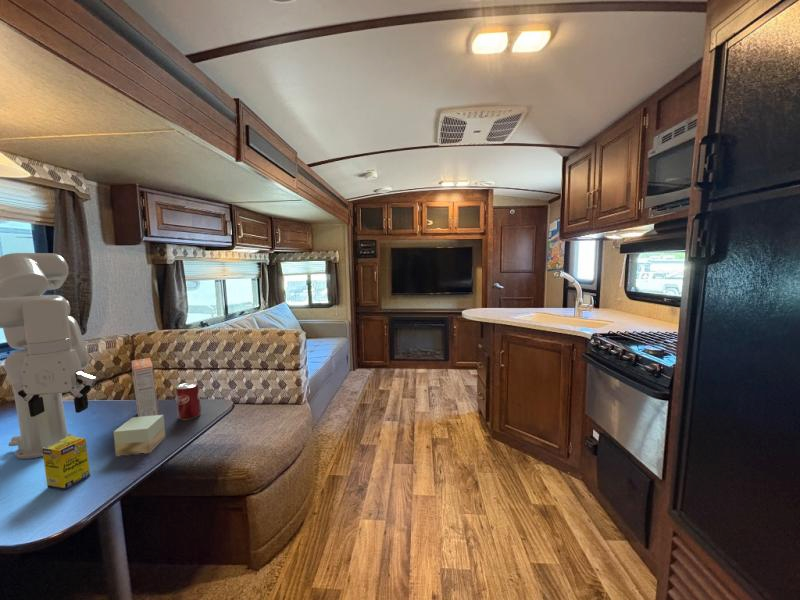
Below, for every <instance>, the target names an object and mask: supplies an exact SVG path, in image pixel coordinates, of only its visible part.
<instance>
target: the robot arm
mask: <svg viewBox="0 0 800 600" xmlns="http://www.w3.org/2000/svg"><path fill="white" fill-rule="evenodd" d="M68 276H69V266H68V263H67V260H65V258H64V257H62V255H61V254H57V253H52V252H51V253H50V252H47V253H46V252H42V253H41V252H12V253H11V252H10V253H7V254H4V255H2V256H0V329H2V330H3V333H4V338H5V340H6V342H7V345H9V347H10V348H12V349H14V350H19V351H16V352H15V351H14V352H13V353H11V354H10V355H8V356H7V357H6V358H5V360H4V368H5V369H4V370H5V372H6V374H7V377H8V380H9V381H10V384H11V387H12V392H13V396H14V402H15V403H14V404H15V409H16V415H17V419H18V420H17V421H18V427H19V434H20V435H16V436H15V435H14V436H12V438H11V439H10V442H9V443H8V444H7V445H8V447H16V446H17V450H15V452H14V453H15V457H16V458H17V459H18V460H19V459H20V460H29V459H35V458H40V457H43V451H42V448H44V447H46V446H49V445H51V444H53V443H56V442H58V441H60V440H63V439H65V438H67V437H69V436H71V437H76V435H74V434H73V433H69V432H68V430H67V428H68V427H67V423H66V414H65V408H64V401H63V393H64V394H65V393H68V392H70V393H72V394H73V395H74V398H73V401H74V402H73V403H74V409H75V413H77V414H78V413H82V412H83V411H85V410H87V409H88V407H89V401H88V400H89V399H88V394H89V393H90V392H91V390H92V389H93V388H95V384H96V382H97V380H98V378H97V377H96V376H93V375H92V374H88V373H84V372H83V370H84V369H86V368H87V367H88V366H89V363H90V359H89V353H88V350H87V349H88V348H87V347H86V344H85V341H84V337H83V334H82V331H81V328H80V326H79V324H78V321H77V320H76V318H74V317H73V316H71V305H70V302H69V300H67V299H66V298H65V297H63V296H61V295H58V294H45V293H46V292H47V291H52V290H56V289H57V290H59V288H61V287H62V286H63V284H64V283H65V282H66V281H67V278H68ZM84 382H85V385H84Z"/></svg>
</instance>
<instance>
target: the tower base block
mask: <svg viewBox="0 0 800 600" xmlns="http://www.w3.org/2000/svg"><path fill="white" fill-rule="evenodd" d="M165 438H166V429H165V427H163V428H162V429H161V430H160V431H159V432H158V433H157V434H156V435H155V436H154V437H153V438H152V439H151V440H150V441H146V442H135V443H125V444H115V443H114V450H115V457H121V456H120V455H125V456H131V455H130V454H134V455H140V454H139V453H144V454H150V453H152V452H153V450H155V448H157V446H158V445H159V444H160V443H161V442H162V441H163V440H164V439H165Z"/></svg>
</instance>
